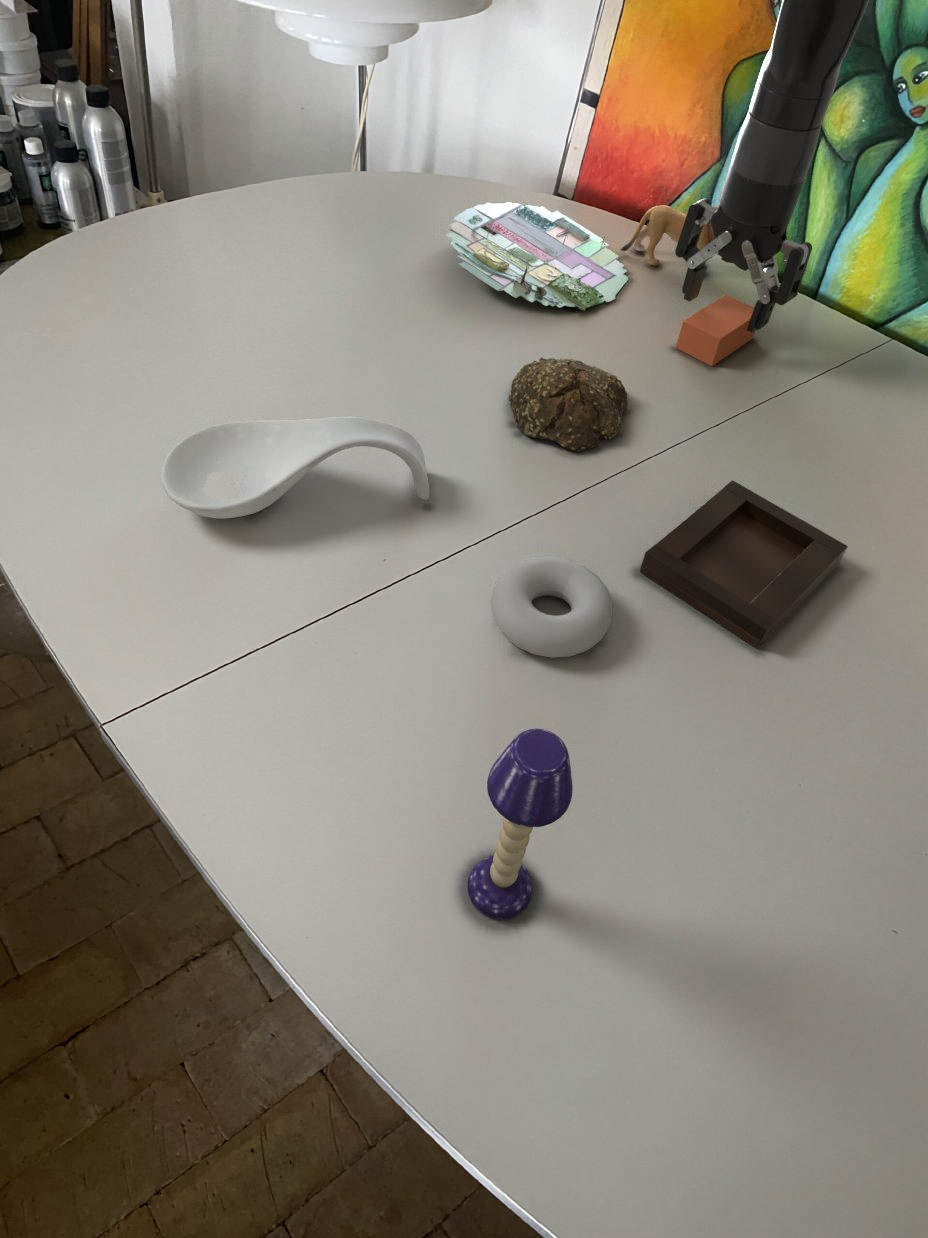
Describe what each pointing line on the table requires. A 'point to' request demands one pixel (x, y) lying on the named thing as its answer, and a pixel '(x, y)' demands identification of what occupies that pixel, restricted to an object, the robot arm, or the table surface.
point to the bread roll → (567, 403)
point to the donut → (547, 630)
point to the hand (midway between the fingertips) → (721, 313)
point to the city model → (536, 255)
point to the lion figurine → (664, 230)
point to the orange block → (716, 330)
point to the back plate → (743, 562)
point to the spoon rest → (274, 458)
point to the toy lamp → (520, 817)
